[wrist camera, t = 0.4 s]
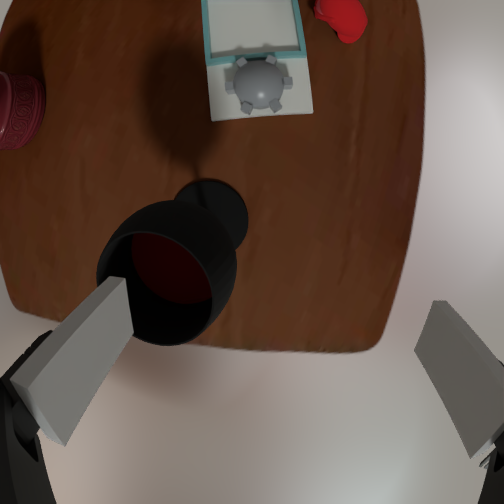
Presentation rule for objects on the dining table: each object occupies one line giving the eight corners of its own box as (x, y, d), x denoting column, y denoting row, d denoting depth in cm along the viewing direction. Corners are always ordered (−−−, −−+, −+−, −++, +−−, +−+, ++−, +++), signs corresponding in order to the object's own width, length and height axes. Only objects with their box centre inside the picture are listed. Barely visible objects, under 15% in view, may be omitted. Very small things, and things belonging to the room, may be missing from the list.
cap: (297, -6, 23) (317, 14, 22) (337, -25, 20) (362, -6, 19) (324, 31, 30) (342, 55, 28) (359, 15, 27) (381, 38, 25)
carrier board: (203, -2, 26) (197, -15, 23) (293, -11, 25) (295, -24, 22) (213, 121, 32) (207, 118, 29) (311, 113, 31) (316, 109, 28)
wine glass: (254, 252, 38) (241, 352, 19) (180, 262, 39) (116, 354, 20) (241, 173, 35) (209, 202, 16) (163, 188, 36) (69, 231, 17)
